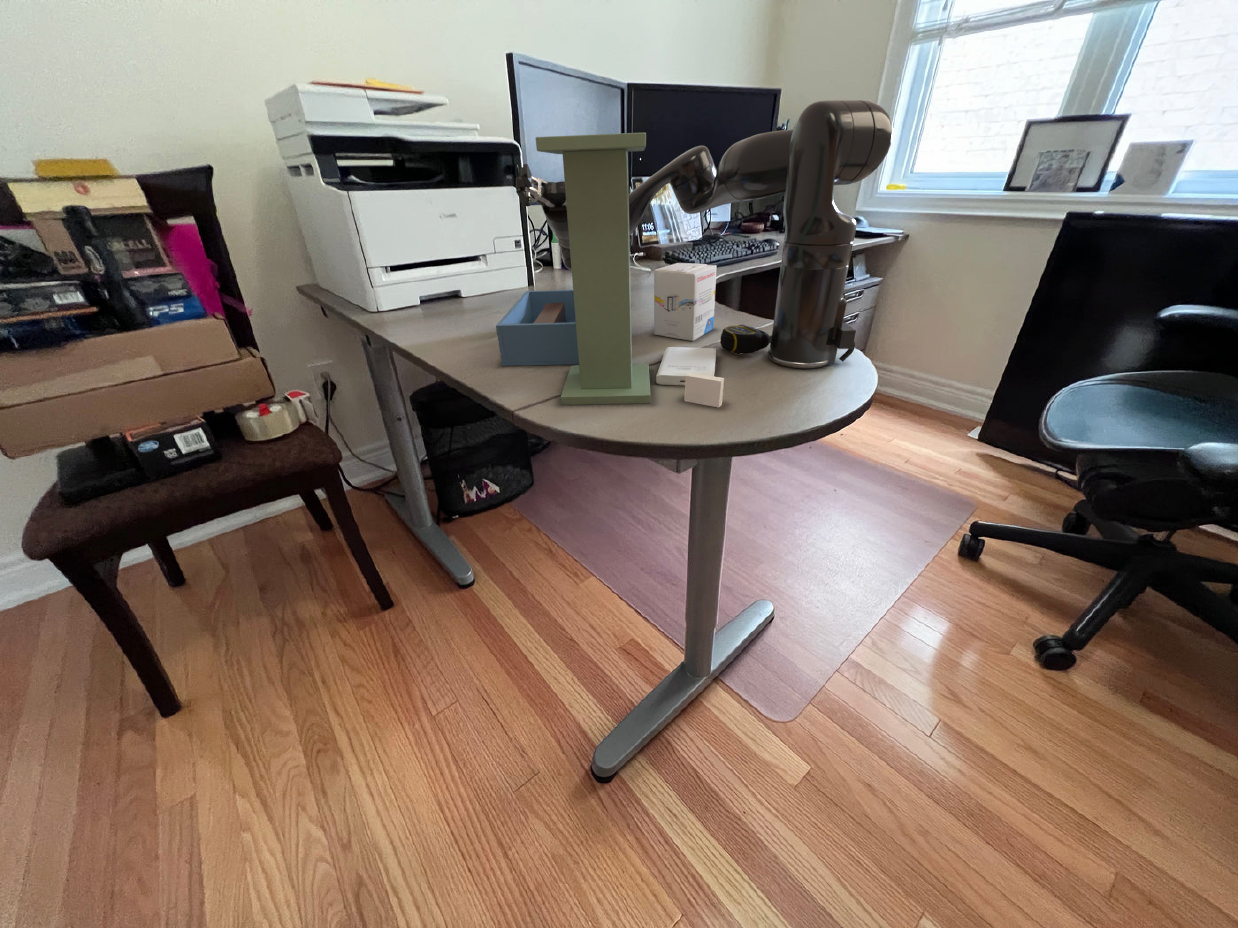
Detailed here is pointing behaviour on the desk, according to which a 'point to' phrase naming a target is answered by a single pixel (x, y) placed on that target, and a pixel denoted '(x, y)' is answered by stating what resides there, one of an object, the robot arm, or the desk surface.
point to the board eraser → (552, 314)
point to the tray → (538, 332)
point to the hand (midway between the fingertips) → (550, 168)
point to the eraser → (704, 389)
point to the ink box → (684, 300)
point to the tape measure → (743, 339)
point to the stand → (600, 267)
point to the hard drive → (685, 364)
